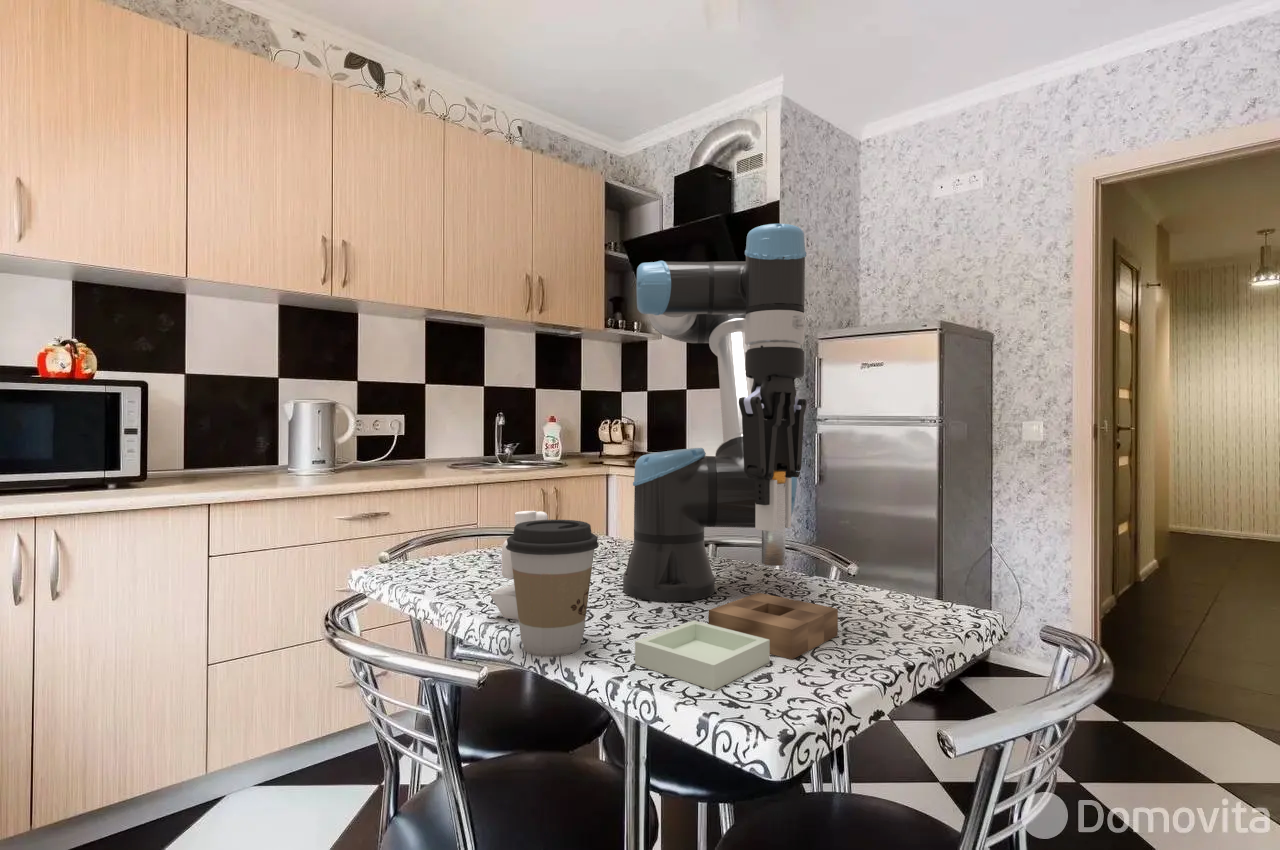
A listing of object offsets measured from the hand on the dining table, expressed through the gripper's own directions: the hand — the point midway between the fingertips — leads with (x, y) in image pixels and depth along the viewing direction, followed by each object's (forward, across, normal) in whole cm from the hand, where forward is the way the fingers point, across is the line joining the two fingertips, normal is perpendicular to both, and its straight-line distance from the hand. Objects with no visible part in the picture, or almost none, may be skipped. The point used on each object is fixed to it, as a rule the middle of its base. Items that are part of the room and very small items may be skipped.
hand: (773, 527), depth 85 cm
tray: (+14, -14, +1) cm, 20 cm away
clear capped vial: (+5, 0, 0) cm, 5 cm away
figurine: (+14, -16, +31) cm, 38 cm away
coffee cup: (+14, -22, +18) cm, 32 cm away
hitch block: (+14, 0, 0) cm, 14 cm away
